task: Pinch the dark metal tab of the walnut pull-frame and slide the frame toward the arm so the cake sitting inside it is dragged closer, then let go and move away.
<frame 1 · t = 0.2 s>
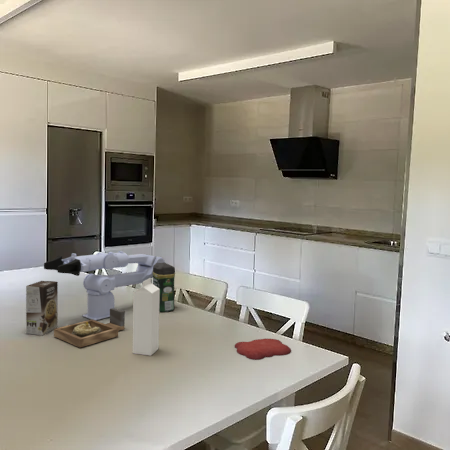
hand: (51, 267, 157), 21 cm above the table, tool horizontal, fingers open, 7 cm apart
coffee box: (42, 331, 157), on the table
coffee jar: (163, 309, 187), on the table
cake: (87, 338, 152), on the table
red lobed slab: (262, 351, 147), on the table
milk: (145, 351, 142), on the table
pull frame: (94, 324, 154), point 3 cm above the table, slide at 0.0 cm
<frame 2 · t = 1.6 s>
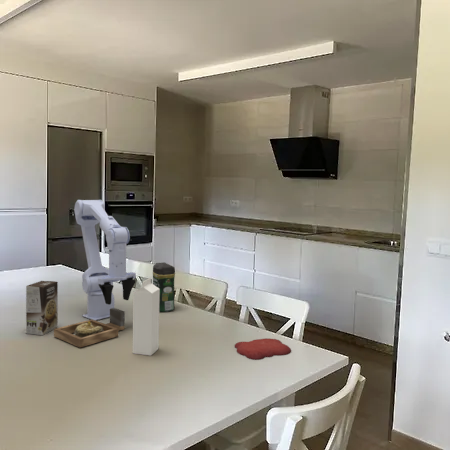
hand: (117, 301, 161), 9 cm above the table, tool pointing down, fingers open, 7 cm apart
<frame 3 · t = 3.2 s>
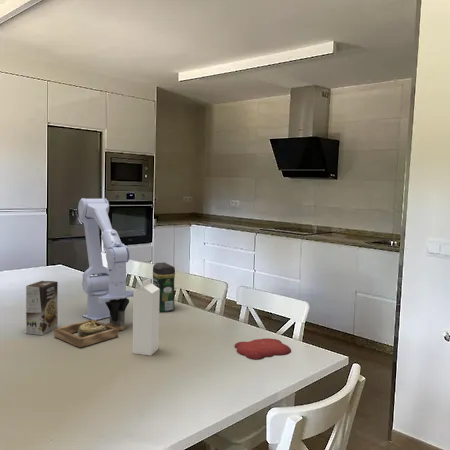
hand: (117, 320, 161), 3 cm above the table, tool pointing down, fingers closed on pull frame, 2 cm apart
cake: (92, 336, 154), on the table
pull frame: (94, 324, 154), point 3 cm above the table, slide at 0.0 cm, touching gripper
everything else where it was.
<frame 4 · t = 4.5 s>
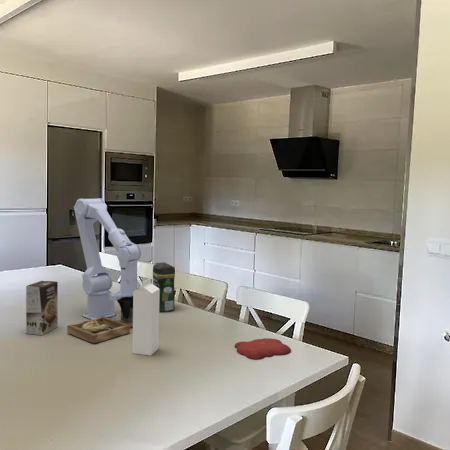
hand: (128, 317, 165), 3 cm above the table, tool pointing down, fingers closed, pressing on pull frame
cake: (95, 335, 155), on the table, touching pull frame
pull frame: (106, 321, 158), point 3 cm above the table, slide at 4.9 cm, touching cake, gripper
everything else where it was.
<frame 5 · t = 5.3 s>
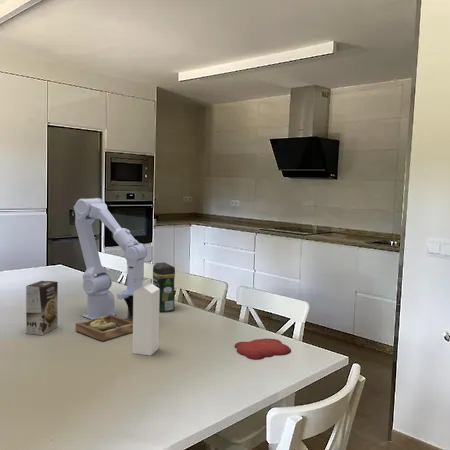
hand: (135, 315, 168), 3 cm above the table, tool pointing down, fingers closed on pull frame, 2 cm apart
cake: (102, 333, 157), on the table
pull frame: (113, 319, 160), point 3 cm above the table, slide at 8.0 cm, touching gripper
everything else where it was.
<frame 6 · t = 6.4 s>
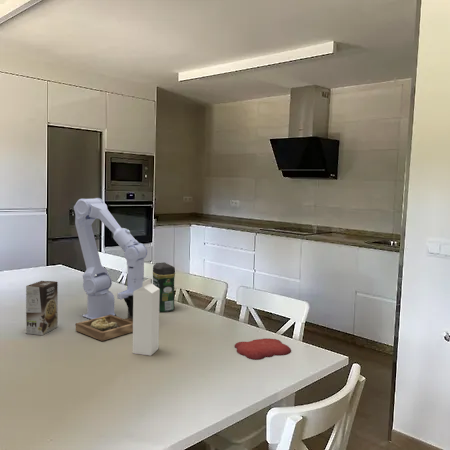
hand: (135, 315, 168), 3 cm above the table, tool pointing down, fingers closed
pull frame: (113, 319, 160), point 3 cm above the table, slide at 8.0 cm
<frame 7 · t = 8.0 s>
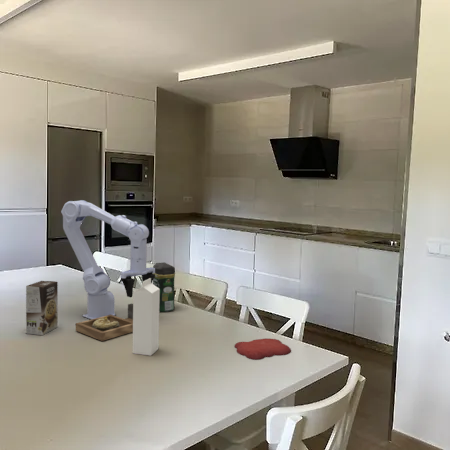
hand: (137, 294, 171), 9 cm above the table, tool pointing down, fingers open, 7 cm apart
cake: (105, 332, 159), on the table
everything else where it was.
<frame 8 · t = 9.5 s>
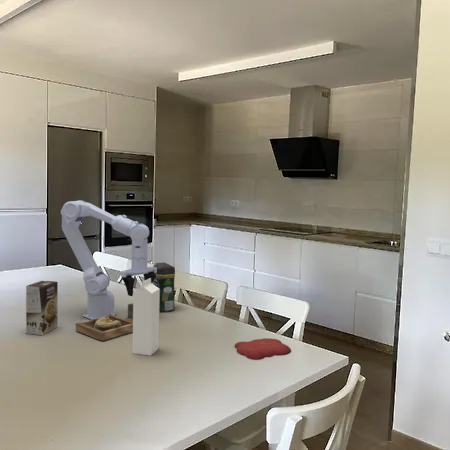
hand: (139, 294, 172), 9 cm above the table, tool pointing down, fingers open, 7 cm apart
at the end: pull frame slide at 8.0 cm; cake inside the target area (1.8 cm from its centre), on the table; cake moved 9.2 cm from its start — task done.
